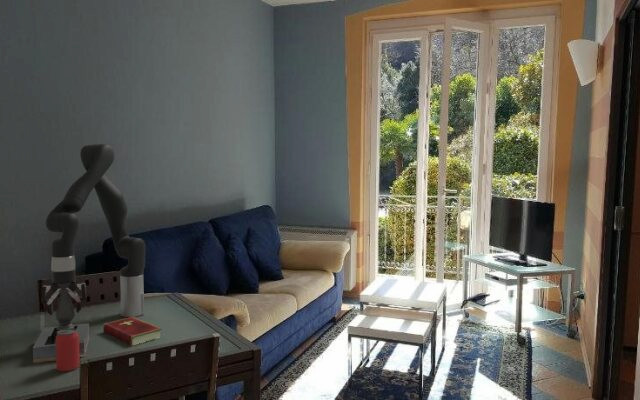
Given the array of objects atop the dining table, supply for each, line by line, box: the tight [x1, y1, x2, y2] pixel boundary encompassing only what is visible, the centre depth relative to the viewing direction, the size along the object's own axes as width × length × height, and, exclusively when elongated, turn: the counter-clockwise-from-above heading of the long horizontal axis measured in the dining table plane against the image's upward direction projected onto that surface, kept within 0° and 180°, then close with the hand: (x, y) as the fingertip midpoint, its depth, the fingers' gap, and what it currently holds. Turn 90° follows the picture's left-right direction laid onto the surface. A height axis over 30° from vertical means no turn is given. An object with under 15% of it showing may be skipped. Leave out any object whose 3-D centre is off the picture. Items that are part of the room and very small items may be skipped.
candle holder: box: [55, 283, 76, 336], centre depth 177 cm, size 6×6×25 cm
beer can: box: [55, 328, 80, 372], centre depth 156 cm, size 7×7×12 cm
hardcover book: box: [102, 317, 162, 347], centre depth 187 cm, size 12×21×4 cm, turn 49°
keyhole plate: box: [32, 322, 90, 363], centre depth 173 cm, size 15×21×5 cm
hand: (64, 313), depth 177 cm, fingers open, 8 cm apart
